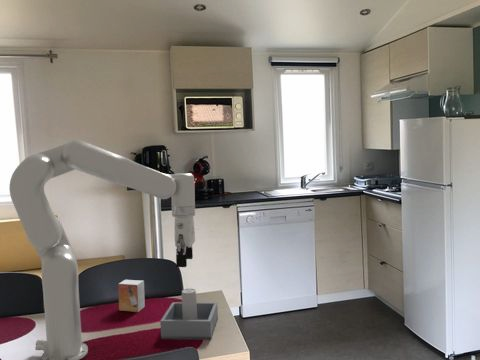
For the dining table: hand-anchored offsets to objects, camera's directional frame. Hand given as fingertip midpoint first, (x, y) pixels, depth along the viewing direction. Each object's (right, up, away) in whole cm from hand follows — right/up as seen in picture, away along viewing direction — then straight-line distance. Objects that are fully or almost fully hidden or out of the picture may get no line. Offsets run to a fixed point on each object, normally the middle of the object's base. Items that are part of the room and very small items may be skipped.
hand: (184, 262), depth 139 cm
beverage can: (+2, -22, +2) cm, 22 cm away
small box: (-23, -22, +22) cm, 38 cm away
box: (+2, -23, +2) cm, 23 cm away
